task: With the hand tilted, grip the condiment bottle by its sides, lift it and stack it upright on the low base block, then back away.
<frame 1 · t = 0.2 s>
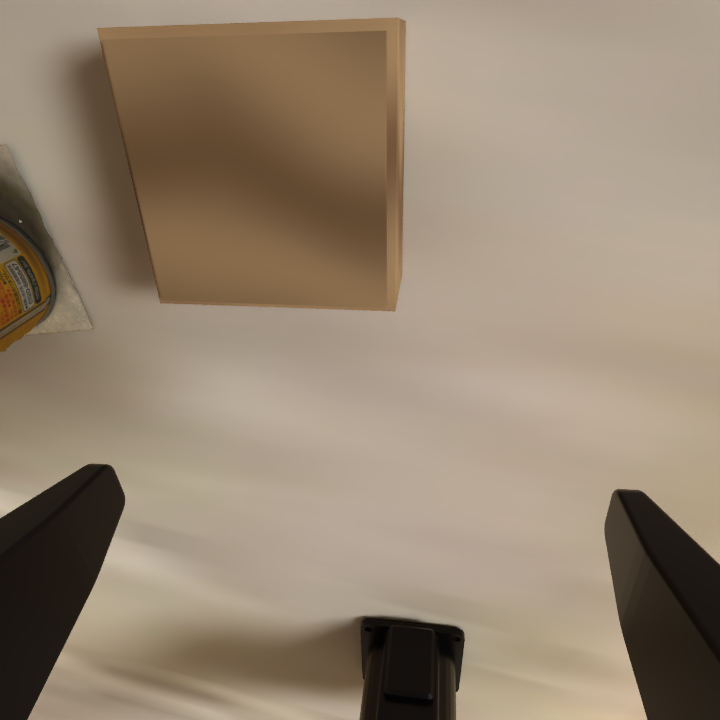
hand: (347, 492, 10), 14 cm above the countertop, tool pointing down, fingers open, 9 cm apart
base block: (287, 161, 21), on the countertop
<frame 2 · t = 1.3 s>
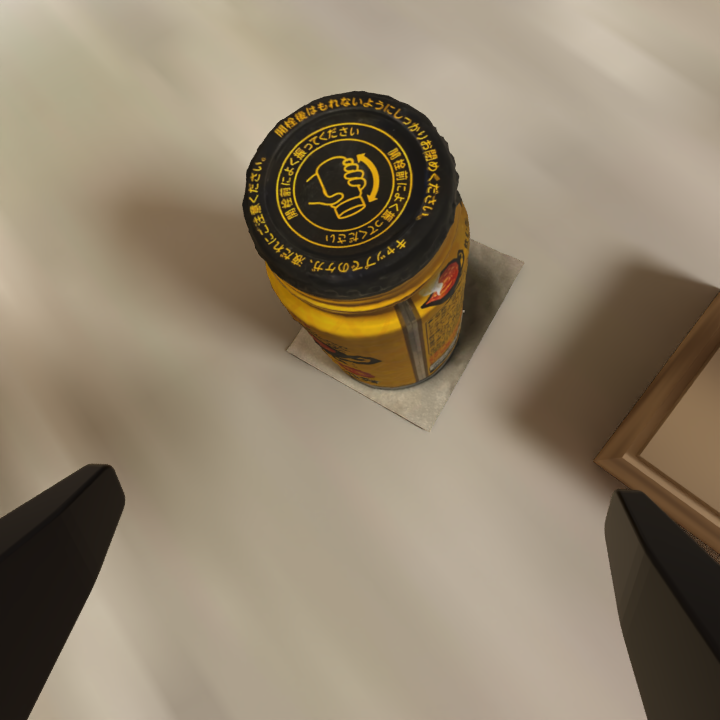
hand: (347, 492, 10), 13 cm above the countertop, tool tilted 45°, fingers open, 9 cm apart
condiment: (404, 310, 24), on the countertop
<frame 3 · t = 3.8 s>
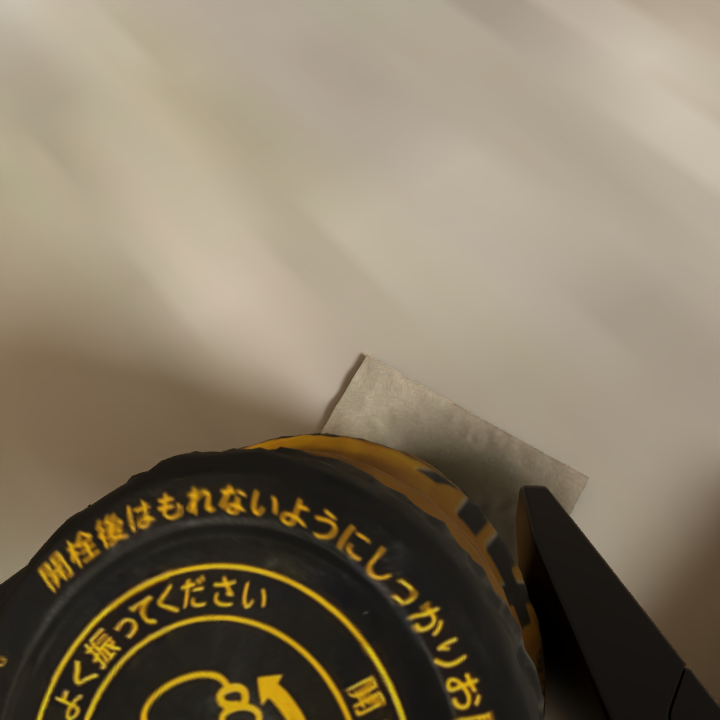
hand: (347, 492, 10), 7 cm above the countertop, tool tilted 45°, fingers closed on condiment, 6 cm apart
condiment: (401, 538, 16), on the countertop, touching gripper
when the fingers open (12 cm above the countertop, at t = 7.1 s): condiment stays where it is, resting on base block.
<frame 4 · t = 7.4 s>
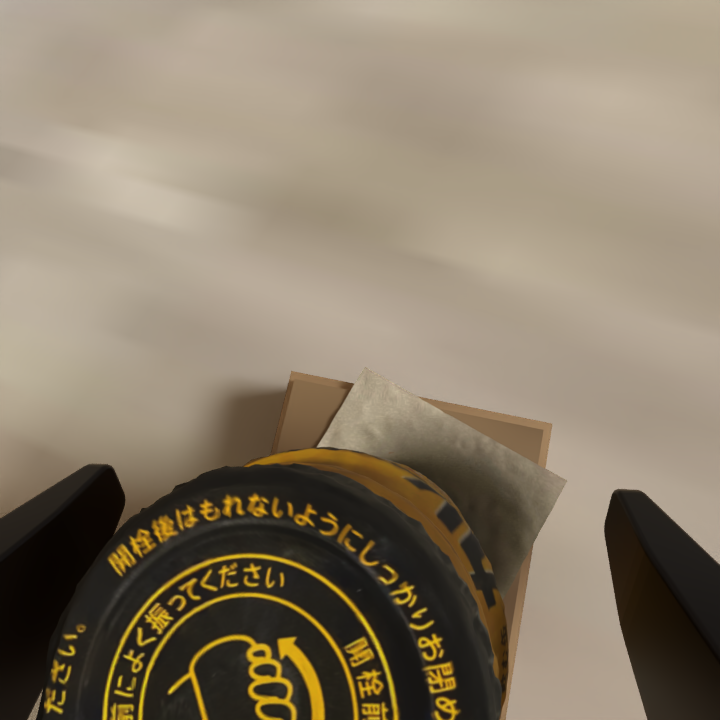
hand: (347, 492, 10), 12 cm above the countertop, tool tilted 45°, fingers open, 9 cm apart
condiment: (395, 536, 17), point 4 cm above the countertop, touching base block
base block: (396, 522, 21), on the countertop
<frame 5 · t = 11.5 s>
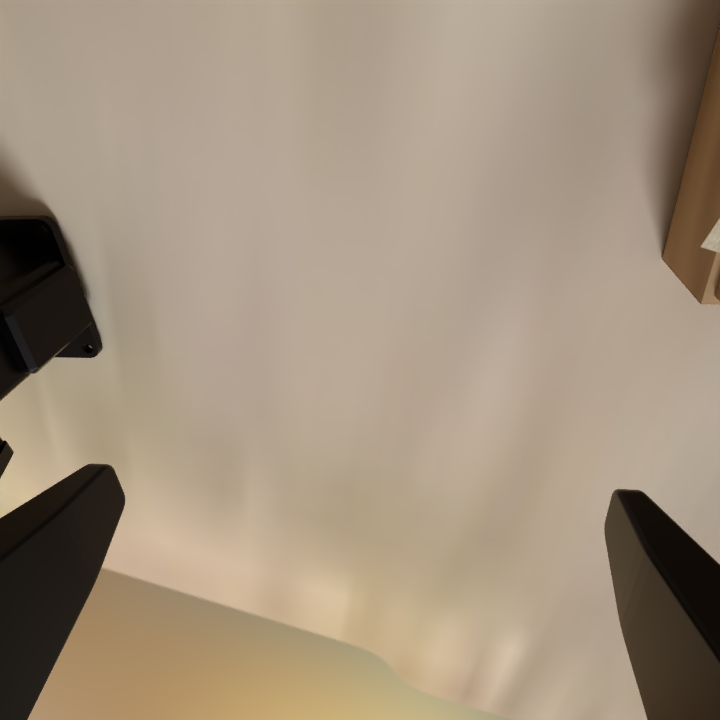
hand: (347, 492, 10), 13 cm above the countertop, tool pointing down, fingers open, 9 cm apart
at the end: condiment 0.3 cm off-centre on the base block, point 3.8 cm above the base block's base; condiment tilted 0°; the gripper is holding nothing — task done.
